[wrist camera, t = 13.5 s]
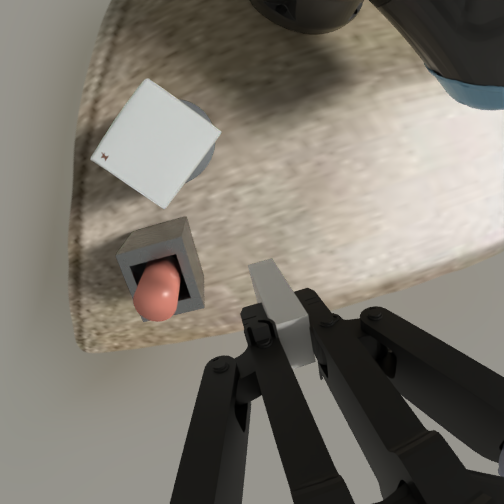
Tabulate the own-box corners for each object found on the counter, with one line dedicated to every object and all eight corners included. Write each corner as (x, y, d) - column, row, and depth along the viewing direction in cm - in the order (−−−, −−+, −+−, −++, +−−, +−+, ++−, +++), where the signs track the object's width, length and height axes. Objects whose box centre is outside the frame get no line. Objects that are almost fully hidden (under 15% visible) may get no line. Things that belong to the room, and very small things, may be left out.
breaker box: (131, 231, 35) (113, 255, 27) (186, 216, 35) (181, 236, 28) (151, 288, 38) (141, 322, 30) (203, 275, 38) (204, 307, 31)
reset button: (140, 259, 31) (126, 288, 25) (175, 250, 31) (168, 277, 25) (152, 291, 32) (143, 325, 26) (186, 283, 33) (183, 316, 26)
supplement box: (177, 188, 33) (162, 214, 21) (126, 152, 30) (85, 159, 19) (217, 136, 32) (225, 132, 20) (166, 98, 29) (144, 75, 17)
